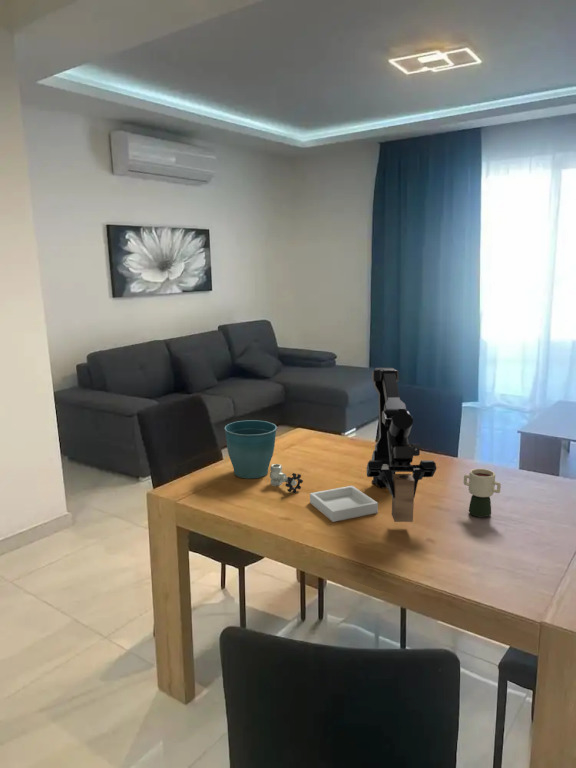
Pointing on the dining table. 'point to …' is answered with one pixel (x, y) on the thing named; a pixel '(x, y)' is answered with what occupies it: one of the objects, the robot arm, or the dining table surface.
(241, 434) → the flower pot
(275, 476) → the valve
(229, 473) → the dining table surface
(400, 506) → the walnut block
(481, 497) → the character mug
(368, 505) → the tray
